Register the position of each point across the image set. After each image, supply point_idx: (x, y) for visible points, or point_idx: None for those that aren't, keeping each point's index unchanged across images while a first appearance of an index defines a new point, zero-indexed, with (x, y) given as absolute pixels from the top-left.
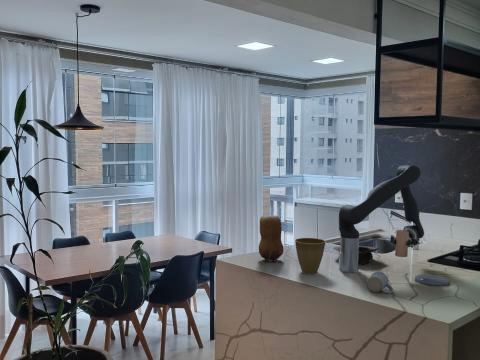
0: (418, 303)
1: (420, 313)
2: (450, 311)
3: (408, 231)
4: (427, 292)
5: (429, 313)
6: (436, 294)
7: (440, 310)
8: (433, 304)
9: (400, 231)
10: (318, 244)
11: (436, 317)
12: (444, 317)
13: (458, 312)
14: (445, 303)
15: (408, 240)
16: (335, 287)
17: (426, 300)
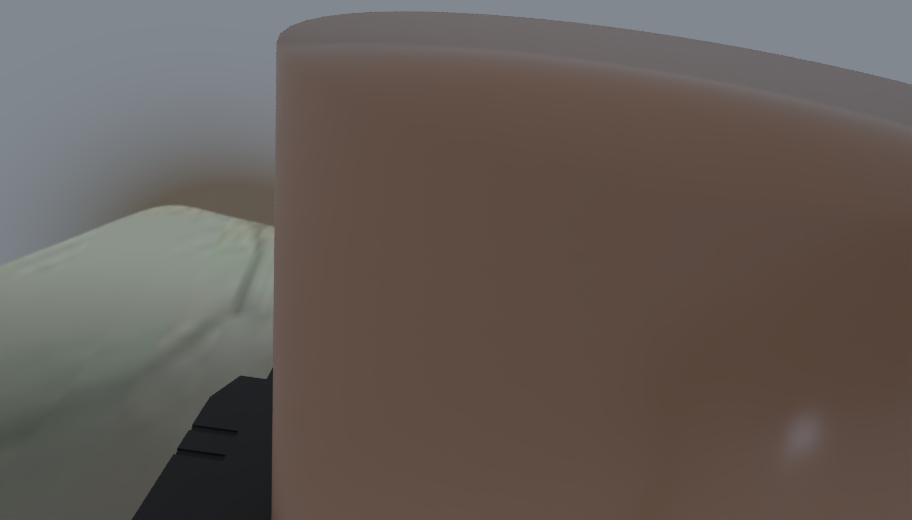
0: (259, 314)
1: (273, 238)
2: (93, 268)
3: (295, 39)
4: (106, 507)
5: (227, 242)
6: (29, 482)
7: (150, 269)
8: (160, 318)
9: (697, 51)
10: None
11: (205, 222)
12: (164, 225)
13: (47, 265)
14: (58, 342)
15: (266, 494)
16: None
17: (188, 357)
